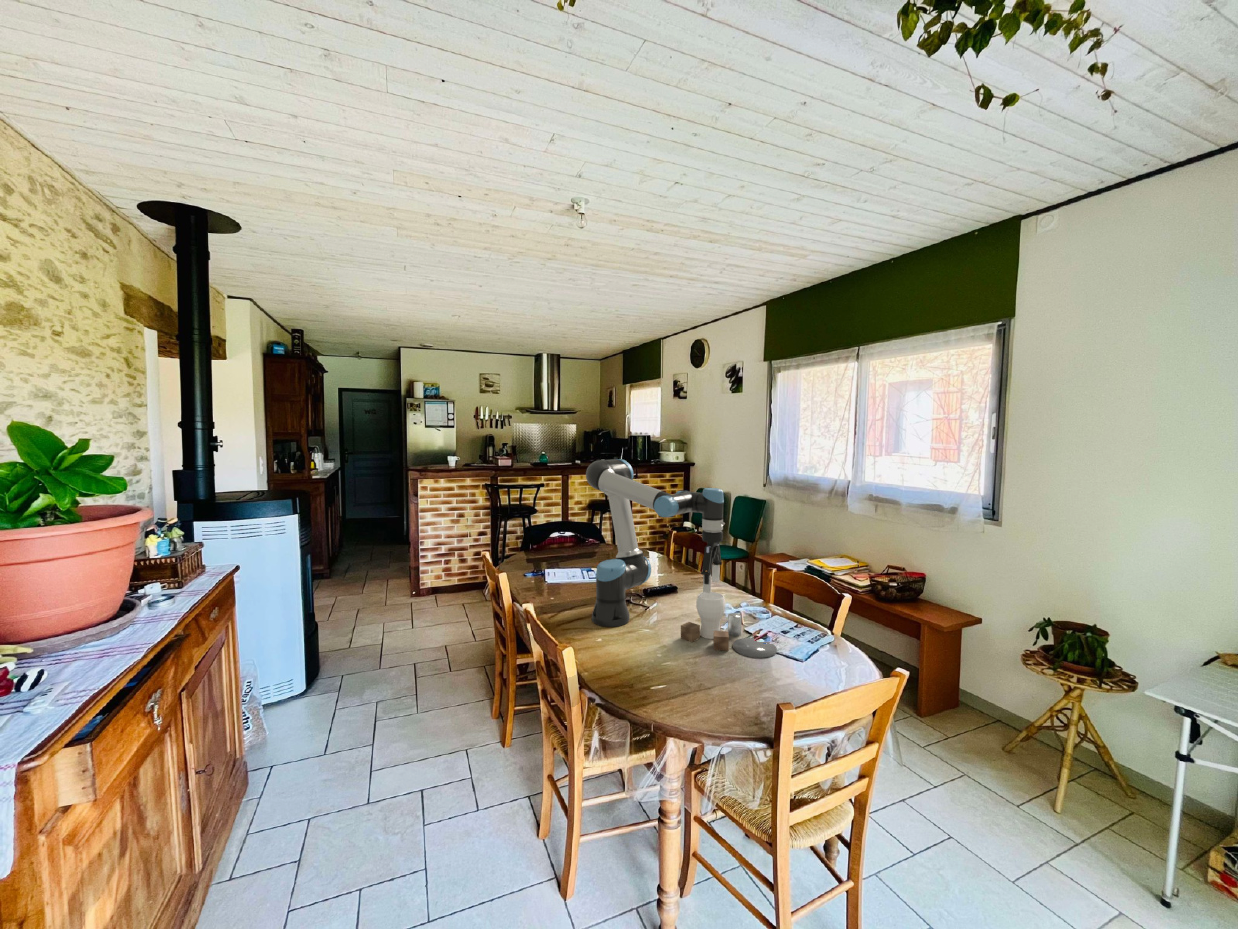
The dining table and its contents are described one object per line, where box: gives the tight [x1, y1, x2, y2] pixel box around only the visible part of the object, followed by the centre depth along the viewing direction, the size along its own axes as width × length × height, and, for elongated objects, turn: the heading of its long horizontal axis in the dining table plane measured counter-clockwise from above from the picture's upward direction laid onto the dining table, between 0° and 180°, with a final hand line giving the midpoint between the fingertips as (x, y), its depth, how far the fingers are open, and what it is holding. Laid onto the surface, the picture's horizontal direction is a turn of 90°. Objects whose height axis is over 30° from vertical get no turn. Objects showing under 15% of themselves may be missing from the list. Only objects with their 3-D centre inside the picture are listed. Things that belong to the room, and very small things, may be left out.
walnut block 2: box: [713, 630, 730, 652], centre depth 180 cm, size 5×5×5 cm
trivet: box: [732, 637, 778, 659], centre depth 179 cm, size 15×15×1 cm
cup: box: [696, 591, 726, 640], centre depth 190 cm, size 11×11×15 cm
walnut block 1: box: [680, 621, 701, 643], centre depth 188 cm, size 5×5×5 cm
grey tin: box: [727, 612, 742, 637], centre depth 192 cm, size 5×5×7 cm
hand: (711, 587), depth 189 cm, fingers open, 13 cm apart
